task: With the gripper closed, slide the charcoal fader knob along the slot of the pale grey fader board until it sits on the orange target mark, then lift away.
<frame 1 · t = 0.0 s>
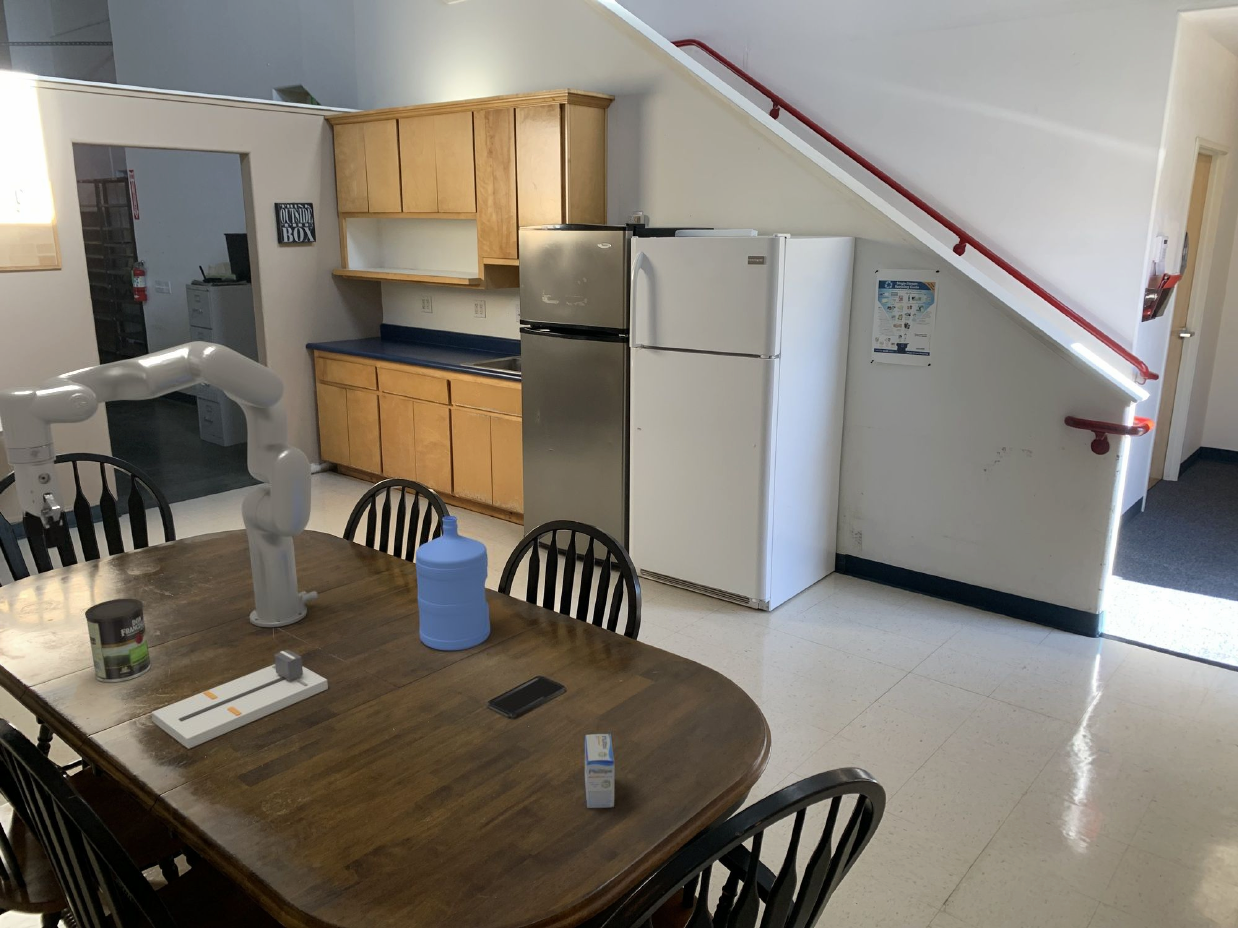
hand: (45, 540, 172), 31 cm above the table, fingers open, 9 cm apart
fader board: (243, 704, 174), on the table
phone: (526, 700, 177), on the table
coffee can: (123, 671, 187), on the table
medicine box: (599, 794, 148), on the table
fader knob: (288, 664, 181), point 5 cm above the table, slide at 0.0 cm
water jug: (455, 637, 204), on the table
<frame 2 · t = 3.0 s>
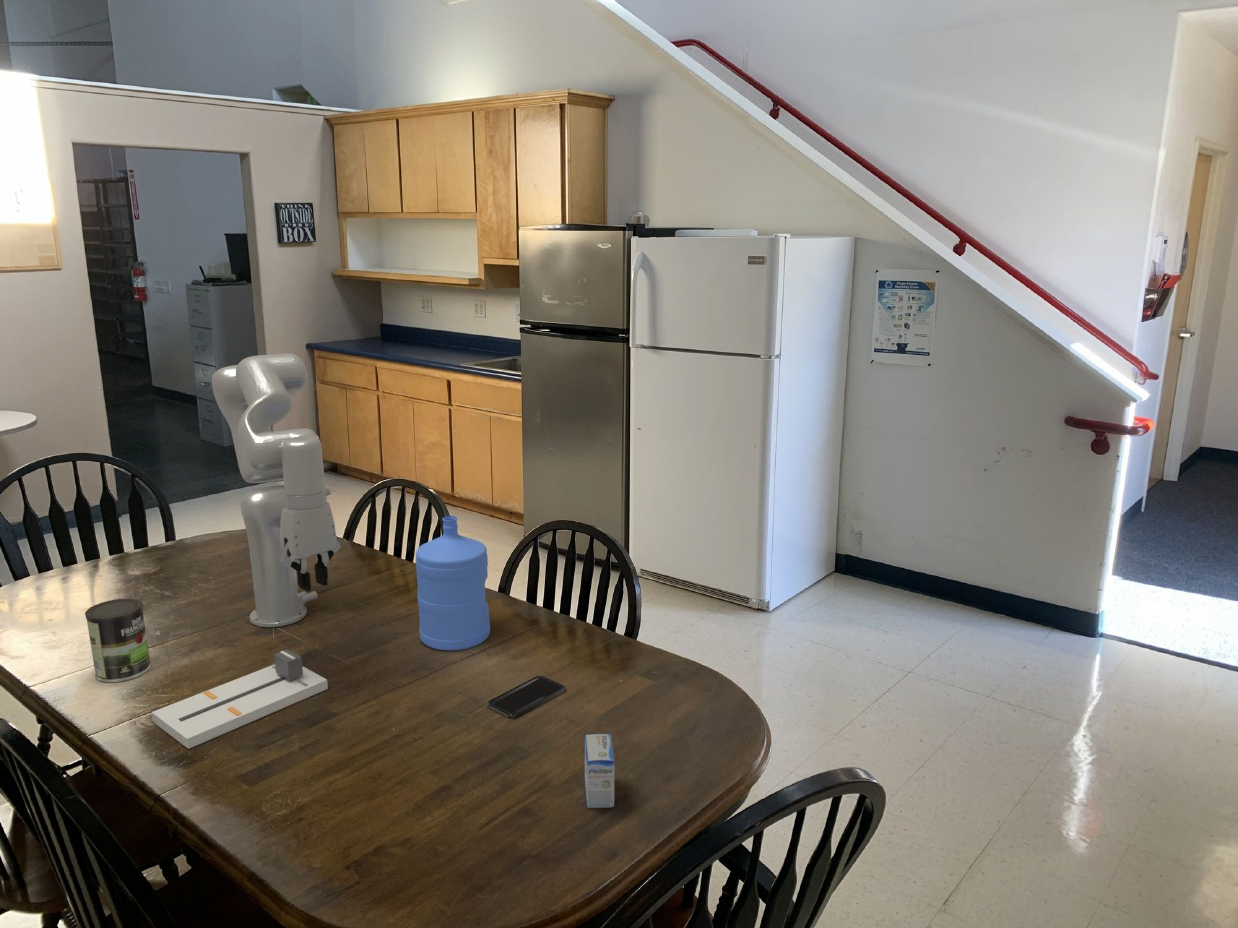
hand: (313, 585, 182), 19 cm above the table, fingers open, 3 cm apart
nothing on the table moved.
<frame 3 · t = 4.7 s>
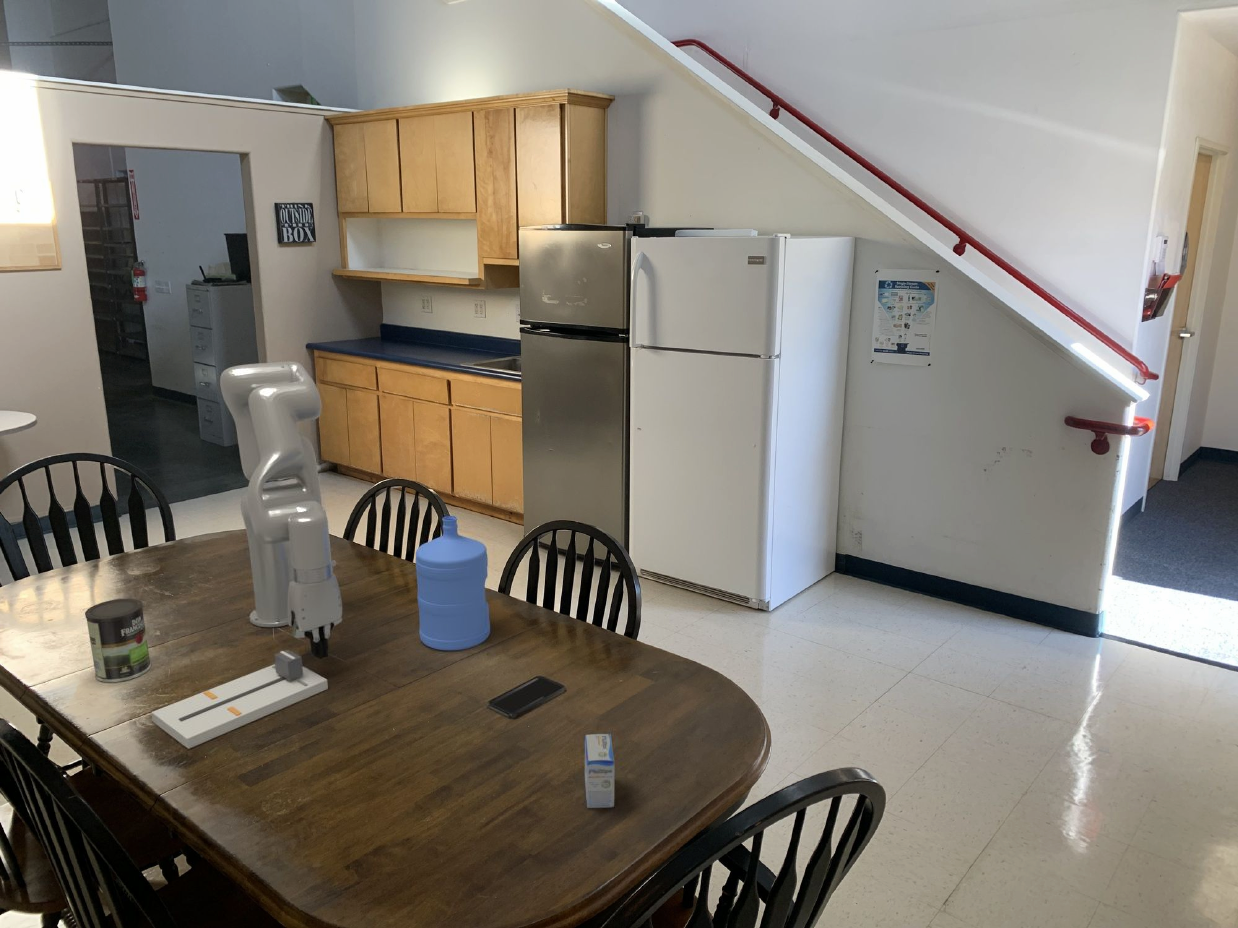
hand: (320, 655, 186), 4 cm above the table, fingers closed
nothing on the table moved.
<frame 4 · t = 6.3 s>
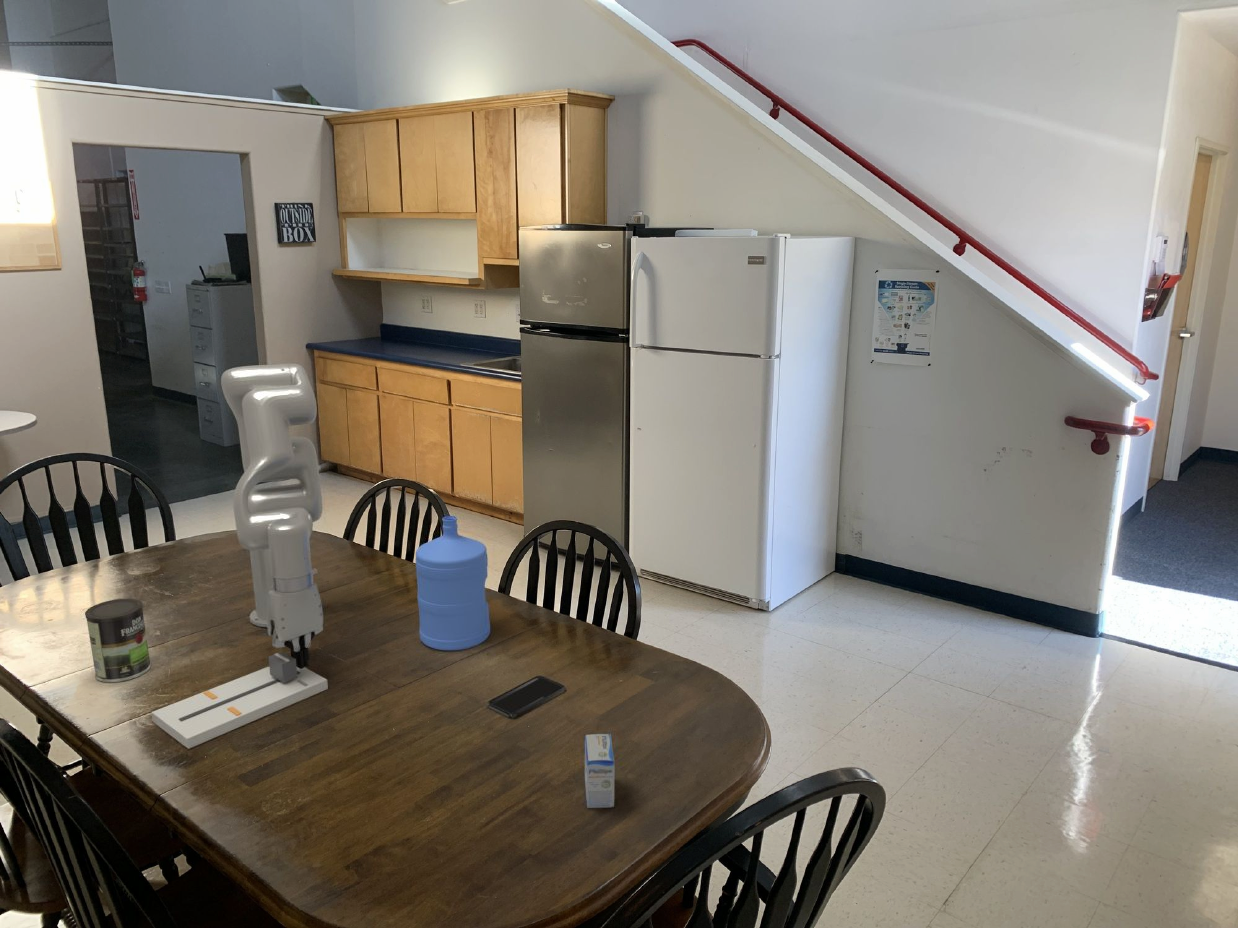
hand: (300, 665, 183), 3 cm above the table, fingers closed
fader knob: (282, 666, 180), point 5 cm above the table, slide at 1.2 cm, touching gripper
everything else where it was.
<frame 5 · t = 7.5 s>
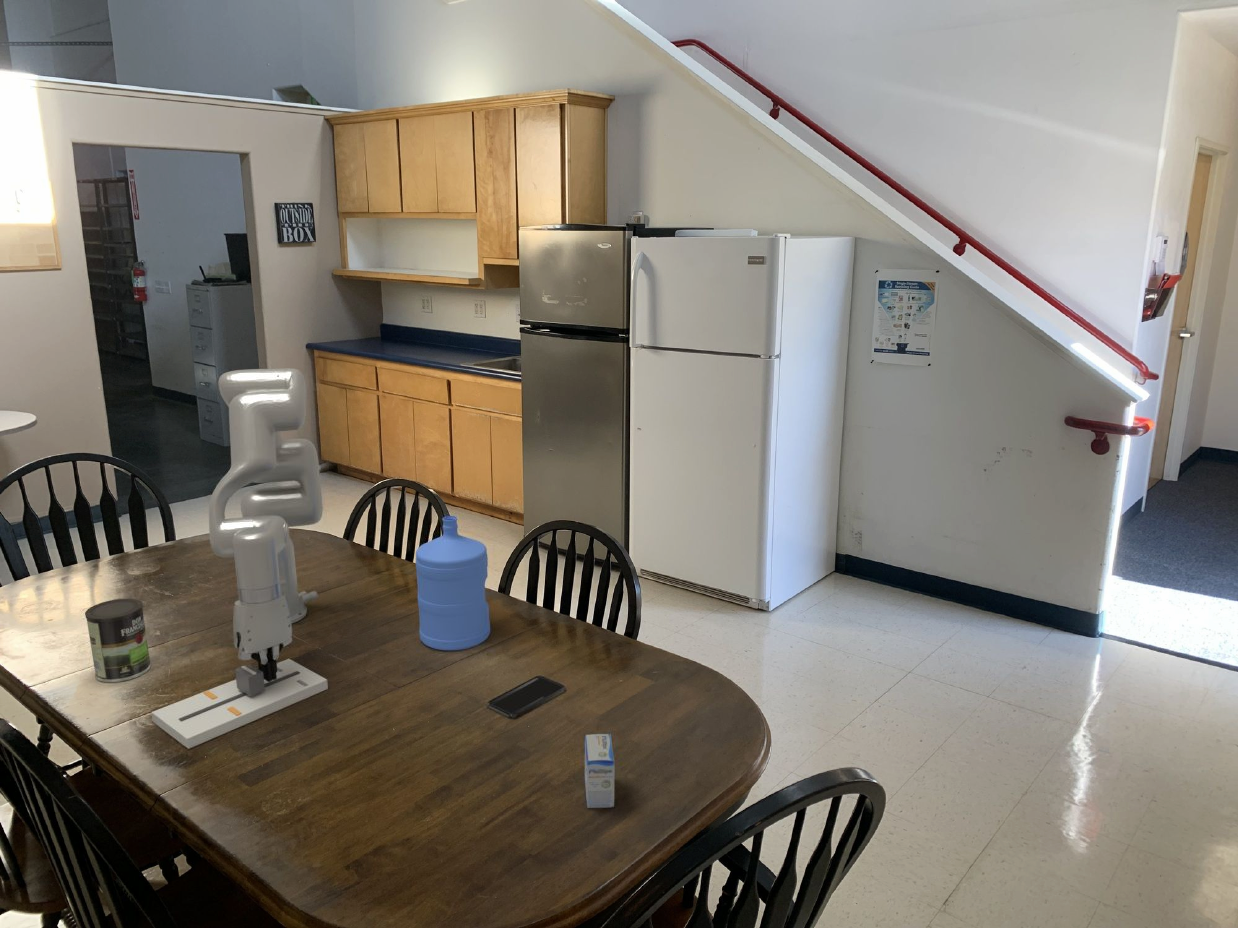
hand: (268, 678, 178), 3 cm above the table, fingers closed
fader knob: (249, 679, 174), point 5 cm above the table, slide at 8.2 cm, touching gripper
everything else where it was.
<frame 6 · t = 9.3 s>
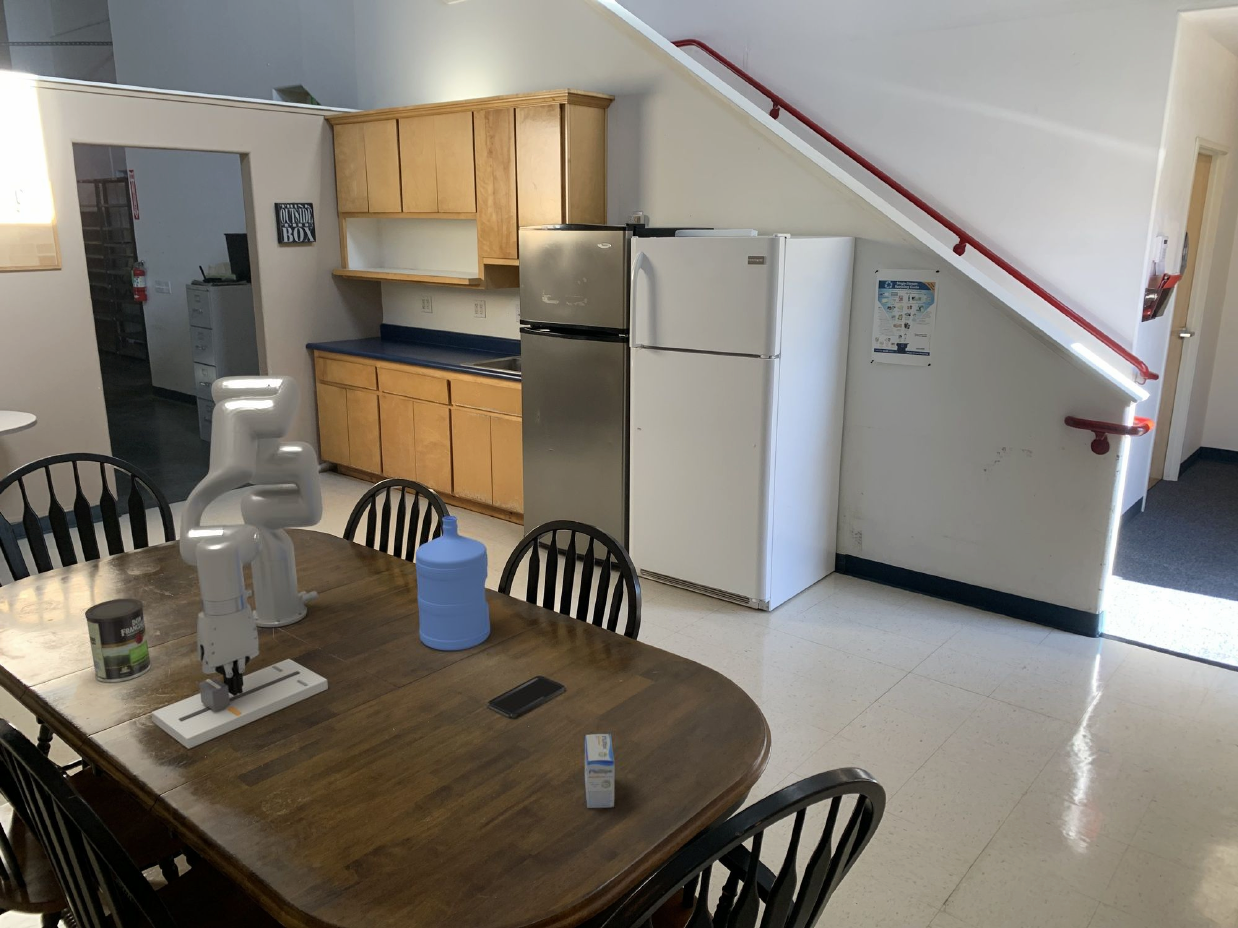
hand: (234, 691, 172), 3 cm above the table, fingers closed
fader knob: (214, 693, 169), point 5 cm above the table, slide at 15.2 cm, touching gripper
everything else where it was.
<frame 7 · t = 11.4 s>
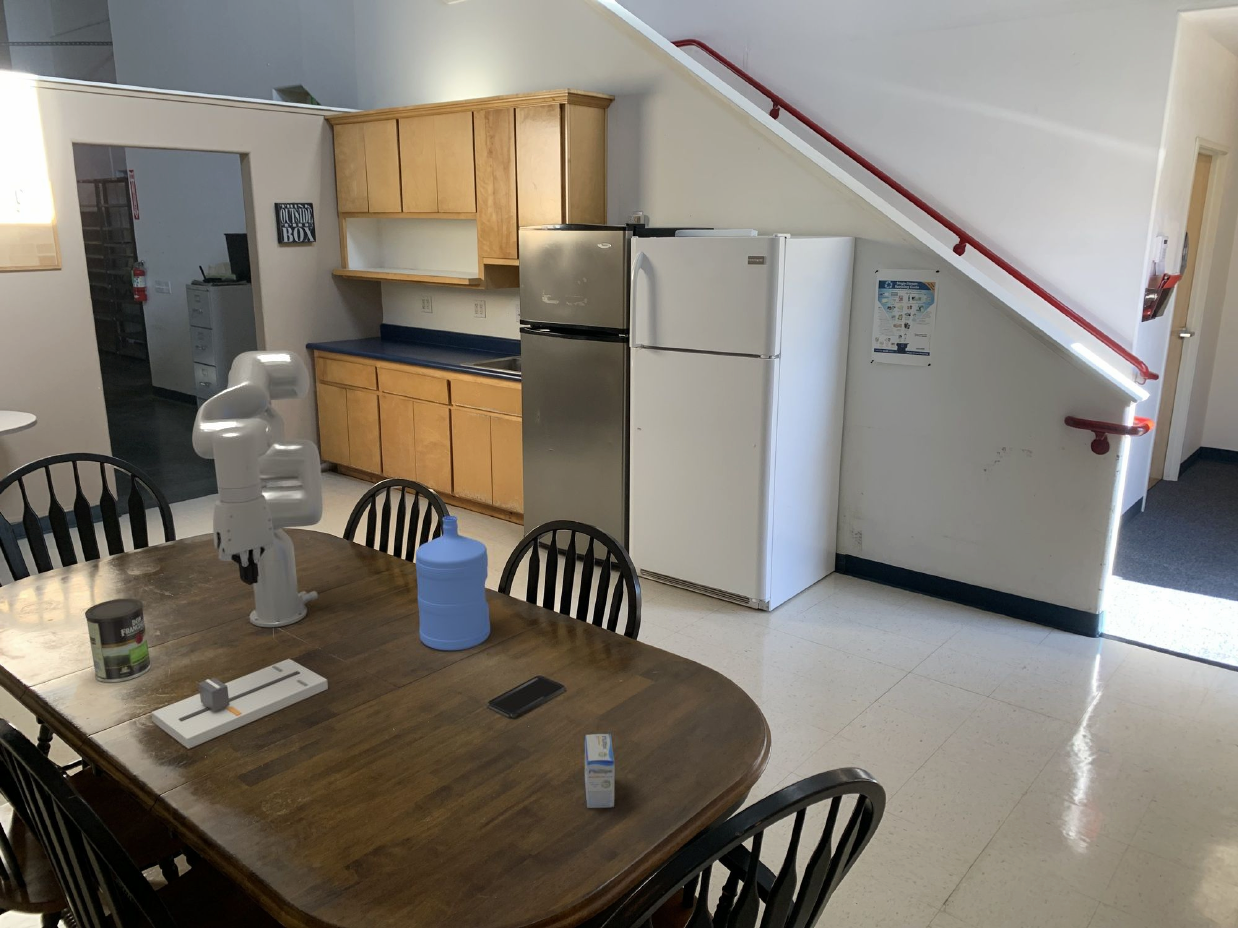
hand: (250, 582, 176), 22 cm above the table, fingers closed
fader knob: (214, 693, 169), point 5 cm above the table, slide at 15.3 cm
everything else where it was.
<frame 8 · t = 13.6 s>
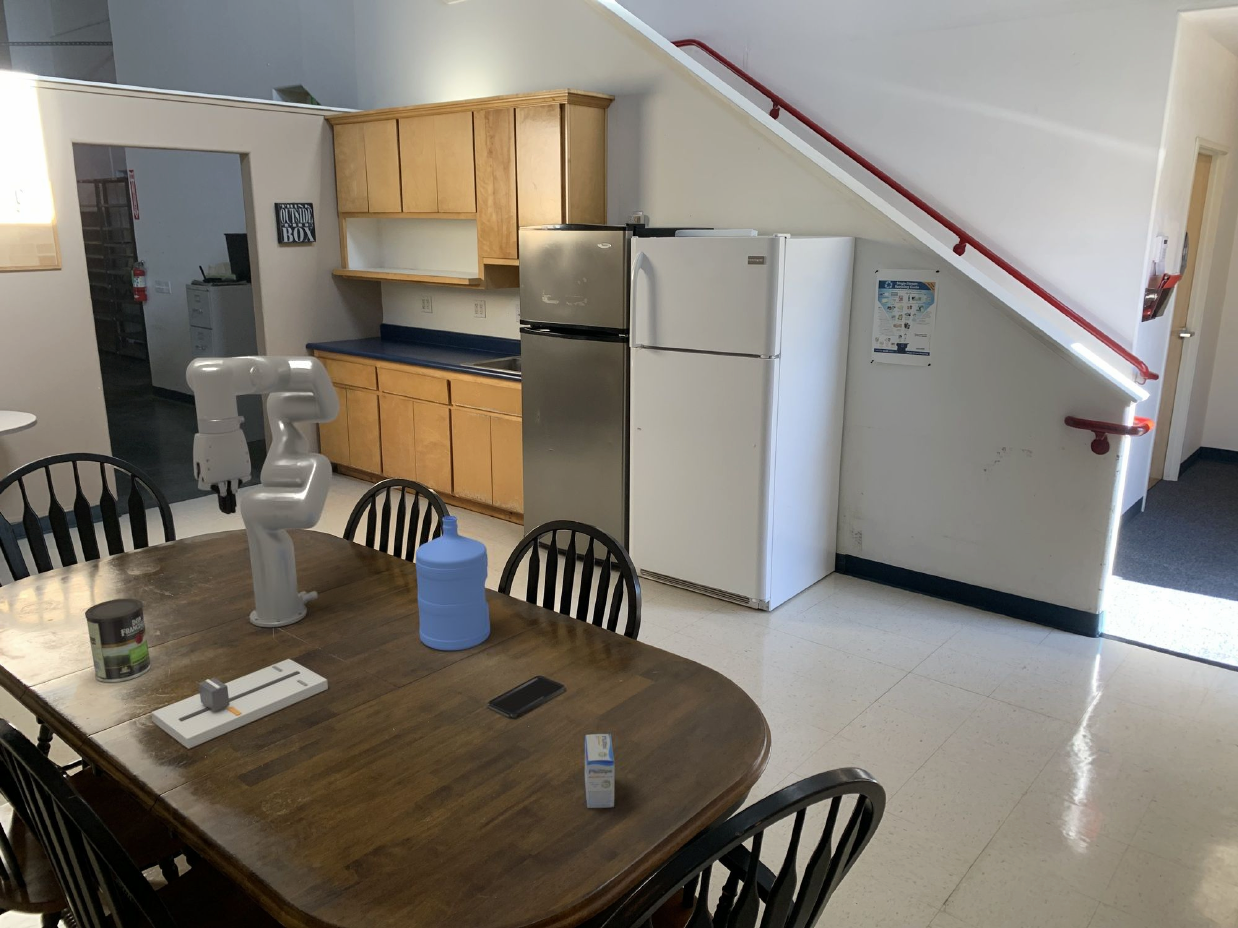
hand: (228, 512, 187), 32 cm above the table, fingers closed
nothing on the table moved.
at the end: fader knob slide at 15.3 cm; coffee can moved 0.2 cm from its start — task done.
